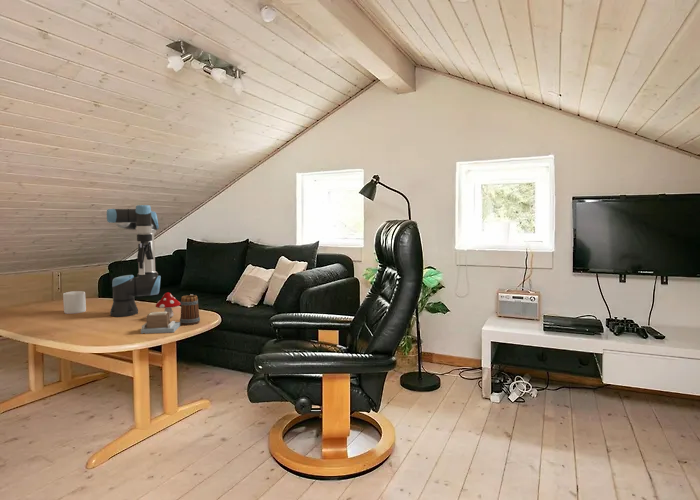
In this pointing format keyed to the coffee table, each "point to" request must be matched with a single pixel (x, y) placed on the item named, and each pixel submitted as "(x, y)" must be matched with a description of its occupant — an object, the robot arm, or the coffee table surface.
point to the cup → (74, 302)
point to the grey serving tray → (170, 329)
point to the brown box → (158, 319)
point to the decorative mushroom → (168, 303)
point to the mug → (189, 310)
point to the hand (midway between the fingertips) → (145, 273)
